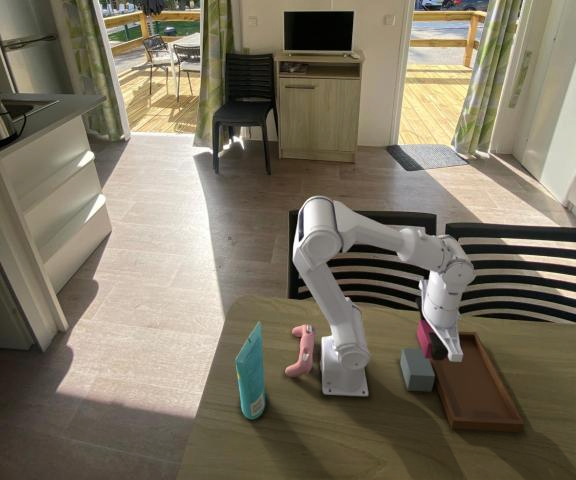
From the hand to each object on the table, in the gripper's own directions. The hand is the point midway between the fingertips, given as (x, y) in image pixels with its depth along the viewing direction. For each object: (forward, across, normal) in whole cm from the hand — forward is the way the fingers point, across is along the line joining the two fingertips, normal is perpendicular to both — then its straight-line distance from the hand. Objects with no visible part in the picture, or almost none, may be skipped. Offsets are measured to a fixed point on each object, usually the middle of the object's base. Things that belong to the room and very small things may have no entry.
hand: (432, 344), depth 61 cm
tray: (+10, 0, -8) cm, 13 cm away
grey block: (+10, 0, +2) cm, 11 cm away
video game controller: (+11, +3, +27) cm, 29 cm away
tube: (+10, -6, +37) cm, 39 cm away
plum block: (+1, 0, 0) cm, 1 cm away
